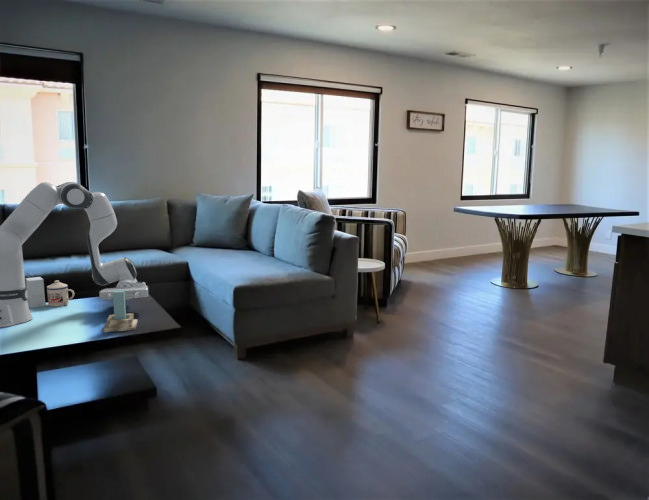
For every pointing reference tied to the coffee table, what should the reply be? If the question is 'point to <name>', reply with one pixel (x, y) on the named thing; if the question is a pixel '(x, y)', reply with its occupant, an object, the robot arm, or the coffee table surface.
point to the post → (119, 304)
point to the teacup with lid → (58, 294)
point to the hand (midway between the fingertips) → (122, 297)
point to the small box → (35, 292)
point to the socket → (120, 323)
